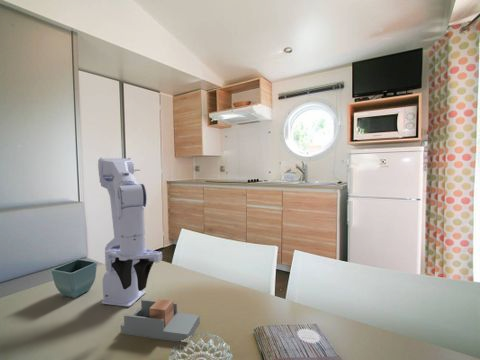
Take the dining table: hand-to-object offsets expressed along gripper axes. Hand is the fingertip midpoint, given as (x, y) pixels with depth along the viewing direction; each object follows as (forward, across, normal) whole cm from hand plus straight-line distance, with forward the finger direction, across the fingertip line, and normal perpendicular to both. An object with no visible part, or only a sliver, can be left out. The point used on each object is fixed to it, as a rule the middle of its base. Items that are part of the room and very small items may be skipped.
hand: (134, 288), depth 59 cm
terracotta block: (+7, +7, 0) cm, 10 cm away
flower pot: (+10, -29, +10) cm, 32 cm away
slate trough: (+9, +7, 0) cm, 12 cm away
